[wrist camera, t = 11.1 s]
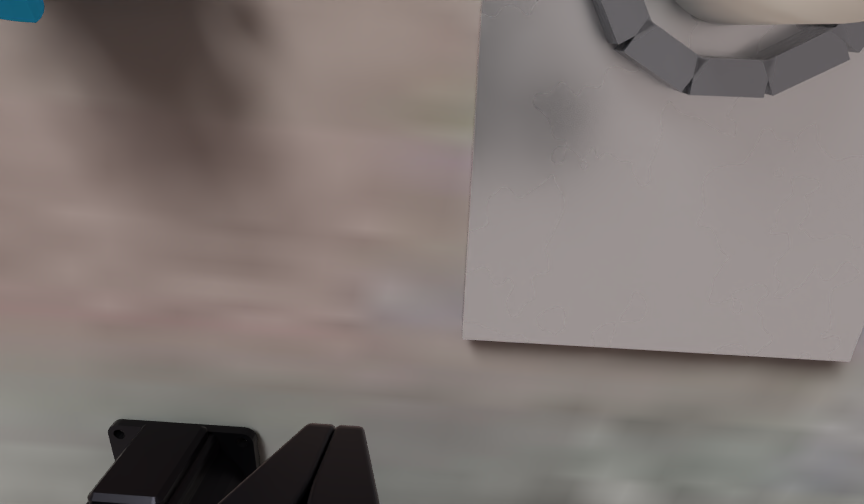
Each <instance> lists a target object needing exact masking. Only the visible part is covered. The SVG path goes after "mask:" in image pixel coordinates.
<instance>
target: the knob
mask: <svg viewBox="0 0 864 504" xmlns="http://www.w3.org/2000/svg"><path fill="white" fill-rule="evenodd" d="M675 1H676V2H677V4H678V5H679V6H680V7H681V8H683V9H684V10H685V11H687V12H688V13H689V14H691V15H693V16H695V17H696V18H698V19H701V20H704V21H706V22H709V23H714V24H720V25H773V24H845V23H855V22H862V21H864V0H675Z"/></svg>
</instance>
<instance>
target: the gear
mask: <svg viewBox="0 0 864 504" xmlns="http://www.w3.org/2000/svg"><path fill="white" fill-rule="evenodd" d="M43 13H44V2H43V0H0V19H4V20H11V21H19V22H32V23H36V22H37V21H38V20H39V19H40V18H41V17H42V15H43Z"/></svg>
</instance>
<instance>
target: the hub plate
mask: <svg viewBox="0 0 864 504" xmlns="http://www.w3.org/2000/svg"><path fill="white" fill-rule="evenodd" d="M863 326H864V21H862V22H855V23H845V24H773V25H720V24H714V23H709V22H706V21H704V20H701V19H698V18H696V17H695V16H693V15H691V14H689V13H688V12H687V11H685V10H684V9H683V8H681V7H680V6H679V5H678V4H677V2H676V1H675V0H481V15H480V32H479V49H478V66H477V83H476V100H475V117H474V134H473V152H472V169H471V186H470V203H469V220H468V237H467V254H466V271H465V288H464V306H463V323H462V339H467V340H484V341H501V342H518V343H535V344H552V345H570V346H587V347H604V348H621V349H638V350H655V351H673V352H690V353H707V354H724V355H741V356H758V357H775V358H793V359H810V360H827V361H844V362H850V360H851V357H852V355H853V352H854V349H855V347H856V344H857V342H858V339H859V336H860V334H861V331H862V329H863Z"/></svg>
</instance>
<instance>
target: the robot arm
mask: <svg viewBox="0 0 864 504" xmlns="http://www.w3.org/2000/svg"><path fill="white" fill-rule="evenodd" d="M108 435H109V439H110V443H111V447H112V451H113V455H114V459H115V462H114V463H113V465H112V466H111V467H110V468H109V470H108V471H107V472H106V473H105V475H104V476H103V477H102V478H101V480H100V481H99V482H98V483H97V485H96V486H95V487H94V488H93V490H92V491H91V492H90V493H89V495H88V502H87V503H86V504H380V503H379V499H378V494H377V489H376V484H375V479H374V474H373V470H372V465H371V460H370V455H369V450H368V445H367V441H366V436H365V431H364V429H363V428H362V427H360V426H346V425H339V426H338V427H336V428H335V426H333V425H331V424H317V423H311V424H308V425H306V426H305V427H304V428H302V429H301V430H300V431H299V432H298V433H297V434H296V435H295V436H293V437H292V438H291V439H290V440H289V441H288V442H287V443H286V444H284V445H283V446H282V447H281V448H280V449H279V450H278V451H277V452H275V453H274V454H273V455H272V456H271V457H270V458H269V459H268V460H266V461H265V462H264V463H263V464H262V465H261V466H260V460H259V452H258V443H257V436H256V434H255V433H254V431H253V430H251V429H249V428H245V427H232V426H217V425H202V424H187V423H172V422H157V421H142V420H127V419H119V420H117V421H115V422H114V423H113V424H112V426H111V427H110V428H109V430H108ZM241 438H243V439H245V440H247V441H244V440H242V439H241Z"/></svg>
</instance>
